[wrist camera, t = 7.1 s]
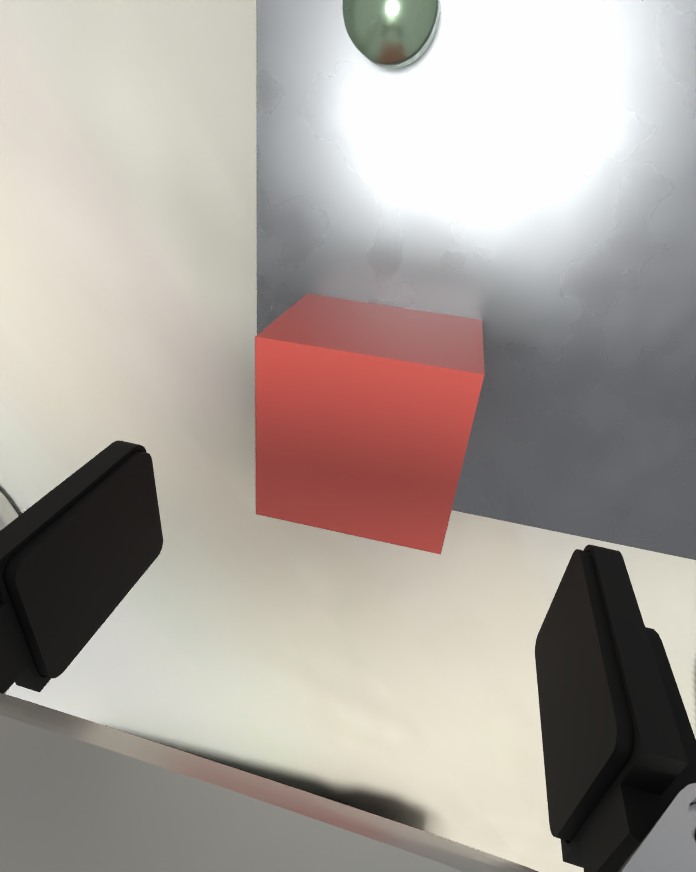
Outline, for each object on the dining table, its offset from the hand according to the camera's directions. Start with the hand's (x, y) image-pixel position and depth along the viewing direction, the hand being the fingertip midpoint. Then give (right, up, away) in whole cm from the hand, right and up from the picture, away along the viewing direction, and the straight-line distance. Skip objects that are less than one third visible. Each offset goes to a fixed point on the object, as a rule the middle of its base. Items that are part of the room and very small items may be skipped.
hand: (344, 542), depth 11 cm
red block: (+1, +4, +8) cm, 9 cm away
